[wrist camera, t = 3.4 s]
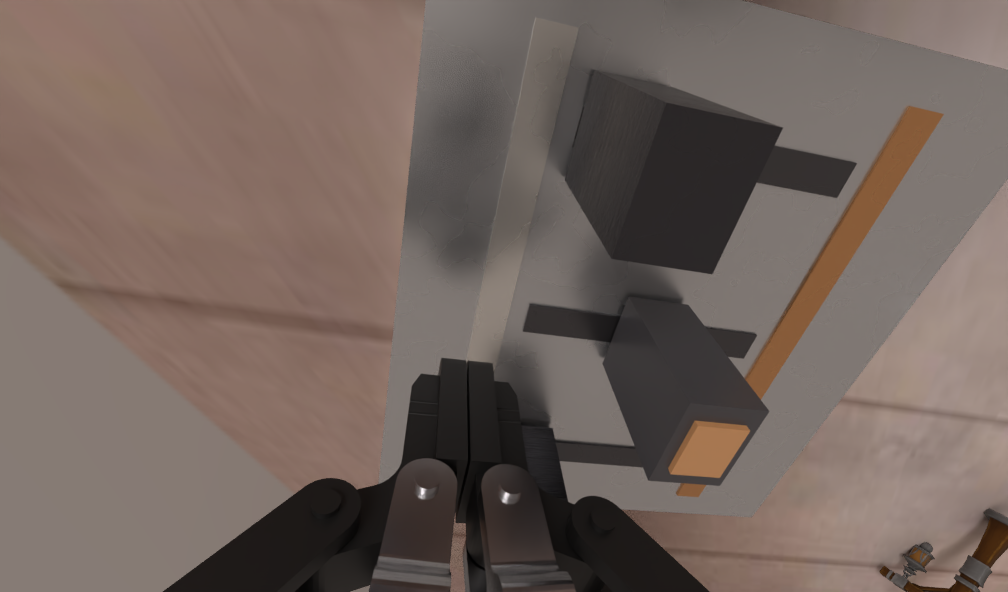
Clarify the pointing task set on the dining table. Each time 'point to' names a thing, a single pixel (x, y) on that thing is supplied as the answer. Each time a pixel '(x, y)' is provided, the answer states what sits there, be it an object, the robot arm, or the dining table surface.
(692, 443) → the block
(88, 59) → the dining table surface
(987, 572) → the brown branched piece
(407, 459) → the robot arm
